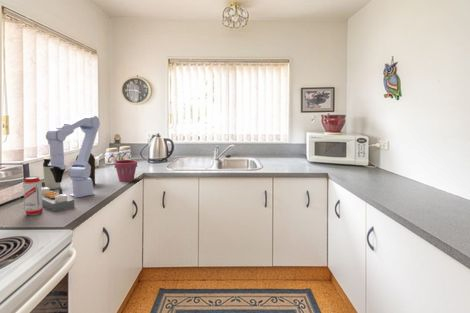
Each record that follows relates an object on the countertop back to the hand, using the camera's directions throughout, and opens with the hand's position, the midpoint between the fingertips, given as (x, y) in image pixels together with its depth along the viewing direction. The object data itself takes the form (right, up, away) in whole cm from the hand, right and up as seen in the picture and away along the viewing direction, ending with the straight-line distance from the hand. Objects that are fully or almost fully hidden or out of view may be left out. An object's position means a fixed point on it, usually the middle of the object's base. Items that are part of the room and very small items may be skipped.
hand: (58, 182), depth 146 cm
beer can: (-2, -13, -14) cm, 19 cm away
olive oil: (-6, -5, +41) cm, 41 cm away
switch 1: (-5, -7, +2) cm, 9 cm away
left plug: (-11, -6, +6) cm, 13 cm away
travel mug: (-21, -6, +31) cm, 38 cm away
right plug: (+5, -8, -7) cm, 12 cm away
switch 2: (0, -7, -3) cm, 8 cm away
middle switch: (-3, -7, 0) cm, 8 cm away
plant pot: (+13, -4, +55) cm, 56 cm away
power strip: (-3, -10, 0) cm, 11 cm away
